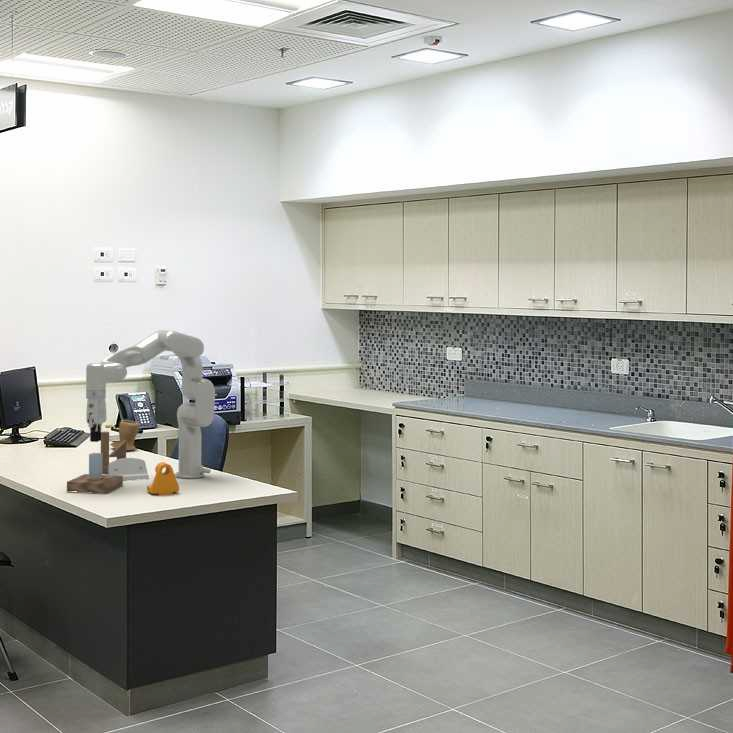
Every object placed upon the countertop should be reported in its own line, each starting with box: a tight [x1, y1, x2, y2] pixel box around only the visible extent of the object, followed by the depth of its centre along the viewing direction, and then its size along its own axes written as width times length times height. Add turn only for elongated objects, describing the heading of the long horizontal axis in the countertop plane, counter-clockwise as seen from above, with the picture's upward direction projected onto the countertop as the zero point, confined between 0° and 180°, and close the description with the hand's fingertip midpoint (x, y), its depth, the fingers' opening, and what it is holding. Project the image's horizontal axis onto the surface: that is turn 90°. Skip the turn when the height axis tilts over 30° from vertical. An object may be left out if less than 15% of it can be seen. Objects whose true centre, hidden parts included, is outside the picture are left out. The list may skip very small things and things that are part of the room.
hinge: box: [107, 457, 150, 482], centre depth 425 cm, size 17×5×10 cm, turn 120°
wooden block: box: [100, 430, 127, 475], centre depth 438 cm, size 4×11×18 cm, turn 112°
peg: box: [88, 452, 103, 480], centre depth 402 cm, size 4×4×14 cm
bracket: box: [146, 462, 180, 496], centre depth 397 cm, size 11×7×12 cm, turn 121°
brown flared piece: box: [109, 419, 140, 452], centre depth 504 cm, size 15×12×15 cm
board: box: [66, 473, 124, 495], centre depth 402 cm, size 16×18×4 cm
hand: (95, 440), depth 401 cm, fingers closed
